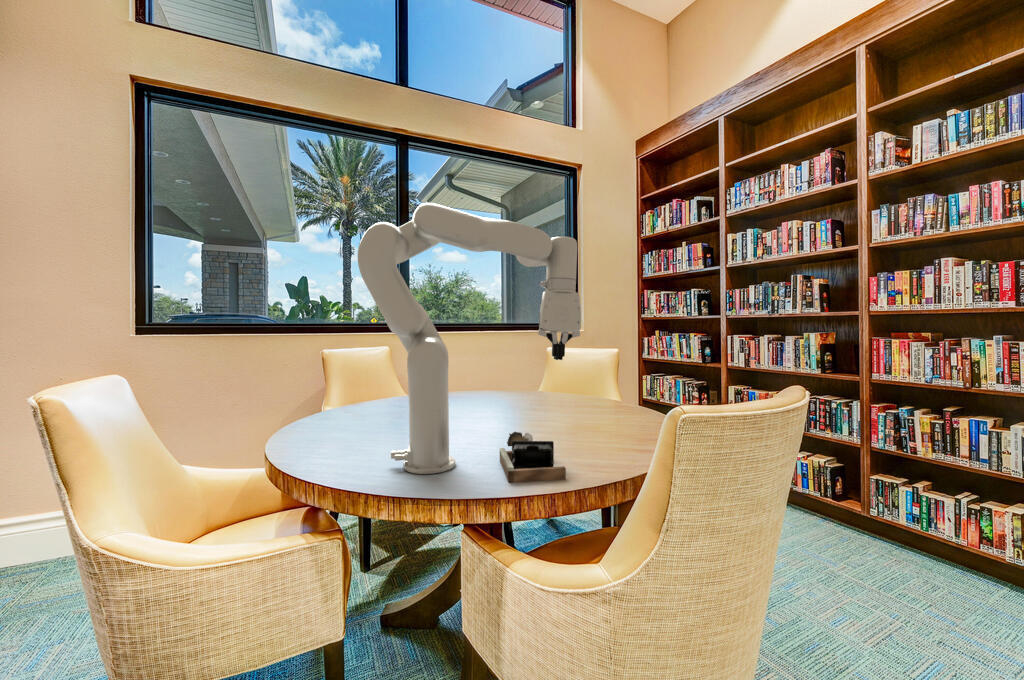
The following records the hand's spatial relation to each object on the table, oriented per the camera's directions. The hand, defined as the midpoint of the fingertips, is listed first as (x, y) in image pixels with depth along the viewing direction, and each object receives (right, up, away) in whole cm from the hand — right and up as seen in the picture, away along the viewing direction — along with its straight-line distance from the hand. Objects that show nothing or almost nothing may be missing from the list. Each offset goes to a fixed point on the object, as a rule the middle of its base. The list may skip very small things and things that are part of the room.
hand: (558, 359), depth 112 cm
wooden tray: (-7, -26, -6) cm, 28 cm away
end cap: (-7, -26, -6) cm, 28 cm away
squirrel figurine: (-10, -26, +6) cm, 28 cm away
